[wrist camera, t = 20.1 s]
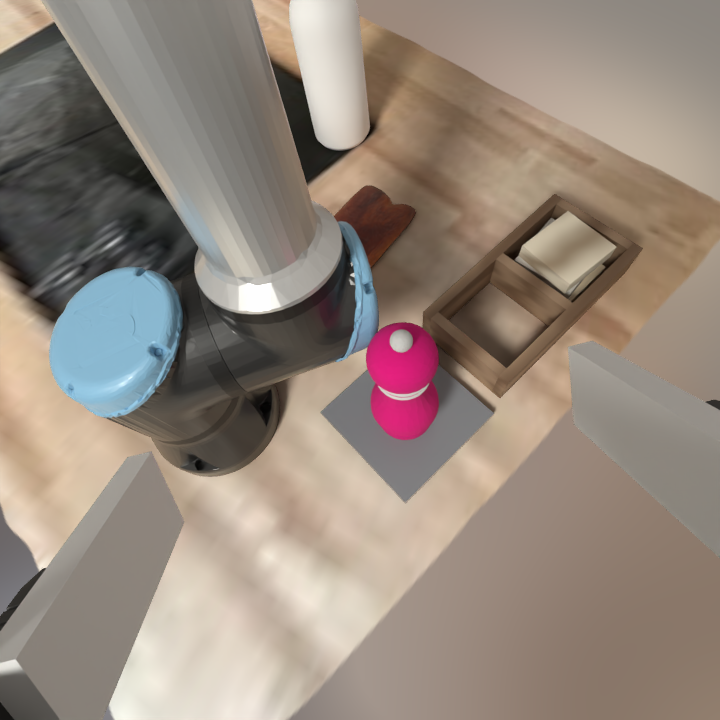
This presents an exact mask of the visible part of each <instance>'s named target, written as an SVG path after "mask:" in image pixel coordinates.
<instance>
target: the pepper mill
mask: <svg viewBox="0 0 720 720" xmlns="http://www.w3.org/2000/svg"><path fill="white" fill-rule="evenodd" d="M366 363H367V368H368V371H369V374H370V376H371V377H372V379H373V380H374V382H375V385H374V387H373V389H372V393H371V410H372V414H373V416H374V418H375V420H376V421H377V423H378V424H379V425H380V426H381V427H382V428H383V430H384V431H385V432H386V433H387V434H388V435H390V436H392V437H393V438H396V439H399V440H411V439H415V438H417V437H419V436H421V435H422V434H423V433H425V432H426V430H427V429H428V428H429V426H430V425H431V424H432V422H433V421H434V419H435V417H436V415H437V413H438V408H439V399H438V393H437V389H436V387H435V385H434V383H433V382H432V379H433V377H434V376H435V373H436V371H437V368H438V364H439V355H438V349H437V346H436V344H435V342H434V340H433V338H432V337H431V335H430V334H429V333H428V332H427V331H426V330H424V329H423V328H421V327H420V326H418V325H415V324H412V323H406V322H402V323H393V324H390V325H388V326H386V327H384V328H382V329H381V330H379V331H378V332H377V333H376V334H375V335H374V337H373V338H372V340H371V341H370V343H369V345H368V349H367V353H366Z"/></svg>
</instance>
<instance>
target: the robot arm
mask: <svg viewBox="0 0 720 720" xmlns="http://www.w3.org/2000/svg"><path fill="white" fill-rule="evenodd" d="M41 1H42V3H43V4H44V6H45V8H46V9H47V11H48V12H49V14H50V15H51V17H52V19H53V20H54V22H55V23H56V25H57V26H58V28H59V30H60V31H61V33H62V34H63V36H64V37H65V39H66V40H67V42H68V44H69V45H70V47H71V48H72V50H73V51H74V53H75V55H76V56H77V58H78V59H79V61H80V62H81V64H82V66H83V67H84V69H85V70H86V72H87V73H88V75H89V76H90V78H91V80H92V81H93V83H94V84H95V86H96V87H97V89H98V91H99V92H100V94H101V95H102V97H103V98H104V100H105V102H106V103H107V105H108V106H109V108H110V109H111V111H112V112H113V114H114V116H115V117H116V119H117V120H118V122H119V123H120V125H121V127H122V128H123V130H124V131H125V133H126V134H127V136H128V138H129V139H130V141H131V142H132V144H133V145H134V147H135V148H136V150H137V152H138V153H139V155H140V156H141V158H142V159H143V161H144V163H145V164H146V166H147V167H148V169H149V170H150V172H151V174H152V175H153V177H154V178H155V180H156V181H157V183H158V184H159V186H160V188H161V189H162V191H163V192H164V194H165V195H166V197H167V199H168V200H169V202H170V203H171V205H172V206H173V208H174V210H175V211H176V213H177V214H178V216H179V217H180V219H181V220H182V222H183V224H184V225H185V227H186V228H187V230H188V231H189V233H190V235H191V236H192V238H193V239H194V241H195V242H196V244H197V246H198V247H199V248H198V251H197V254H196V258H195V273H193V274H190V275H187V276H184V277H181V278H178V279H176V280H173V281H170V282H169V280H168V279H167V278H165V277H164V276H163V275H161V274H159V273H156V272H154V271H151V270H148V271H146V270H144V269H143V268H141V267H124V268H118V269H115V270H112V271H109V272H106V273H104V274H102V275H100V276H99V277H97V278H95V279H93V280H92V281H90V282H89V283H88V284H86V285H85V286H84V287H83V288H82V289H80V290H79V291H78V292H77V293H76V294H75V295H74V297H73V298H72V299H71V300H70V301H69V302H68V304H67V306H66V309H65V311H64V312H63V313H62V315H61V316H60V317H59V318H58V320H57V323H56V325H55V327H54V330H53V333H52V337H51V342H50V349H49V359H50V366H51V370H52V374H53V376H54V379H55V380H56V382H57V384H58V385H59V387H60V388H61V389H62V390H63V392H64V393H65V394H67V395H68V396H69V397H70V398H72V399H73V400H75V401H77V402H78V403H80V404H82V405H83V406H85V407H86V408H87V409H88V410H89V411H91V412H93V413H94V414H95V415H97V416H100V417H104V418H107V419H109V420H111V421H114V422H116V423H118V424H121V425H123V426H125V427H128V428H130V429H132V430H135V431H137V432H139V433H142V434H144V435H146V436H149V437H151V438H152V440H153V442H154V444H155V445H156V447H157V449H158V450H159V452H160V453H161V454H162V456H163V457H164V458H165V459H166V460H167V461H169V462H170V463H171V464H172V465H174V466H176V467H177V468H179V469H181V470H184V471H186V472H189V473H192V474H195V475H199V476H208V477H212V476H221V475H226V474H229V473H232V472H235V471H237V470H239V469H241V468H243V467H244V466H246V465H248V464H249V463H250V462H252V461H253V460H254V459H255V458H256V457H257V456H259V455H260V453H261V452H262V451H263V450H264V449H265V448H266V446H267V445H268V443H269V442H270V440H271V438H272V436H273V434H274V432H275V430H276V427H277V423H278V419H279V412H280V402H279V396H278V392H277V389H276V386H275V384H274V383H277V382H279V381H282V380H285V379H287V378H290V377H293V376H296V375H298V374H301V373H304V372H307V371H310V370H313V369H315V368H318V367H321V366H324V365H327V364H329V363H332V362H338V361H342V360H344V359H346V358H347V357H348V356H349V355H351V354H353V353H356V352H358V351H360V350H363V349H365V348H367V347H368V345H369V343H370V341H371V340H372V338H373V337H374V335H375V334H376V333H377V332H378V326H379V311H378V301H377V295H376V291H375V289H374V287H373V277H372V272H371V269H370V265H369V262H368V259H367V256H366V253H365V250H364V247H363V245H362V243H361V241H360V239H359V237H358V235H357V233H356V231H355V230H354V228H353V227H352V226H351V225H350V224H349V223H347V222H343V221H339V222H337V221H336V219H335V218H334V216H333V215H332V214H331V213H330V212H329V211H328V210H327V209H326V208H324V207H323V206H321V205H320V204H318V203H316V202H314V201H311V198H310V194H309V191H308V188H307V184H306V181H305V177H304V174H303V171H302V167H301V164H300V161H299V157H298V154H297V150H296V147H295V144H294V140H293V137H292V133H291V130H290V127H289V123H288V120H287V117H286V113H285V110H284V106H283V103H282V100H281V96H280V93H279V89H278V86H277V83H276V79H275V76H274V72H273V69H272V66H271V62H270V59H269V56H268V52H267V49H266V45H265V42H264V39H263V35H262V32H261V28H260V25H259V22H258V18H257V15H256V12H255V8H254V5H253V1H252V0H41ZM568 353H569V367H570V380H571V393H572V407H573V420H574V425H575V426H576V427H577V428H579V430H580V431H582V432H583V433H584V434H585V435H586V436H587V437H588V438H589V439H590V440H591V441H592V442H594V443H595V444H596V445H597V446H598V447H599V448H600V449H601V450H602V451H603V452H604V453H606V454H607V455H608V456H609V457H610V458H611V459H612V460H613V461H614V462H615V463H617V464H618V465H619V466H620V467H621V468H622V469H623V470H624V471H625V472H626V473H627V474H629V475H630V476H631V477H632V478H633V479H634V480H635V481H636V482H637V483H638V484H639V485H641V486H642V487H643V488H644V489H645V490H646V491H647V492H648V493H649V494H650V495H651V496H653V497H654V498H655V499H656V500H657V501H658V502H659V503H660V504H661V505H662V506H663V507H665V508H666V509H667V510H668V511H669V512H670V513H671V514H672V515H673V516H674V517H675V518H677V519H678V520H679V521H680V522H681V523H682V524H683V525H684V526H685V527H686V528H687V529H689V530H690V531H691V532H692V533H693V534H694V535H695V536H696V537H697V538H698V539H699V540H701V541H702V542H703V543H704V544H705V545H706V546H707V547H708V548H709V549H710V550H711V551H713V552H714V553H715V554H716V555H717V556H718V557H719V558H720V401H717V400H711V401H707V402H704V401H702V400H700V399H698V398H696V397H695V396H693V395H691V394H689V393H687V392H686V391H684V390H682V389H680V388H678V387H676V386H675V385H673V384H671V383H669V382H667V381H665V380H664V379H662V378H660V377H658V376H656V375H654V374H652V373H651V372H649V371H647V370H645V369H643V368H641V367H640V366H638V365H636V364H634V363H632V362H630V361H629V360H627V359H625V358H623V357H621V356H619V355H618V354H616V353H614V352H612V351H610V350H608V349H607V348H605V347H603V346H601V345H599V344H597V343H596V342H594V341H590V342H586V343H582V344H578V345H574V346H570V347H568ZM183 524H184V520H183V517H182V515H181V513H180V511H179V509H178V507H177V505H176V503H175V500H174V498H173V496H172V494H171V492H170V490H169V488H168V485H167V483H166V481H165V479H164V477H163V475H162V473H161V471H160V468H159V466H158V464H157V462H156V460H155V458H154V456H153V454H152V451H151V452H147V453H143V454H139V455H135V456H131V457H127V459H126V460H125V461H124V463H123V464H122V465H121V467H120V468H119V470H118V471H117V472H116V474H115V475H114V476H113V478H112V479H111V480H110V482H109V483H108V485H107V486H106V487H105V489H104V490H103V491H102V493H101V494H100V496H99V497H98V498H97V500H96V501H95V502H94V504H93V505H92V506H91V508H90V509H89V511H88V512H87V513H86V515H85V516H84V517H83V519H82V520H81V522H80V523H79V524H78V526H77V527H76V528H75V530H74V531H73V532H72V534H71V535H70V537H69V538H68V539H67V541H66V542H65V543H64V545H63V546H62V548H61V549H60V550H59V552H58V553H57V554H56V556H55V557H54V558H53V560H52V561H51V563H50V564H49V565H48V567H47V568H44V569H42V570H41V571H40V572H39V573H38V574H37V575H35V576H34V577H33V578H32V579H31V580H30V581H29V582H28V583H27V584H26V585H24V586H23V587H22V588H21V590H20V591H19V592H18V594H17V595H16V596H15V597H14V599H13V600H12V602H11V603H10V604H9V605H8V607H7V611H6V612H3V614H2V615H1V616H0V720H102V719H103V717H104V714H105V712H106V710H107V707H108V705H109V703H110V700H111V698H112V695H113V693H114V691H115V688H116V686H117V683H118V681H119V678H120V676H121V674H122V671H123V669H124V666H125V664H126V662H127V659H128V657H129V654H130V652H131V649H132V647H133V645H134V642H135V640H136V637H137V635H138V633H139V630H140V628H141V625H142V623H143V621H144V618H145V616H146V613H147V611H148V608H149V606H150V604H151V601H152V599H153V596H154V594H155V592H156V589H157V587H158V584H159V582H160V579H161V577H162V575H163V572H164V570H165V567H166V565H167V563H168V560H169V558H170V555H171V553H172V551H173V548H174V546H175V543H176V541H177V538H178V536H179V534H180V531H181V529H182V526H183Z"/></svg>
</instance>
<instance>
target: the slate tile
mask: <svg viewBox="0 0 720 720" xmlns="http://www.w3.org/2000/svg"><path fill="white" fill-rule="evenodd" d="M432 382H433V383H434V385H435V387H436V389H437V393H438V399H439V408H438V413H437V415H436V417H435V419H434V421H433V422H432V424H431V425H430V426H429V428H428V429H427V430H426V432H425V433H423V434H422V435H421V436H419V437H417V438H415V439H411V440H399V439H396V438H393V437H392V436H390V435H388V434H387V433H386V432H385V431H384V430H383V428H382V427H381V426H380V425H379V424H378V423H377V421H376V420H375V418H374V416H373V414H372V410H371V393H372V389H373V387H374V385H375V382H374V380H373V379H372V377H371V376H370V374H369V371H368V370H367V371H366V372H364V373H363V374H362V375H361V376H360V377H359V378H358V379H357V380H356V381H354V382H353V383H352V384H351V385H350V386H349V387H348V388H347V389H346V390H345V391H343V392H342V393H341V394H340V395H339V396H338V397H337V398H336V399H335V400H333V401H332V402H331V403H330V404H329V405H328V406H327V407H326V408H325V409H324V410H322V411H321V414H322V415H323V416H324V417H325V418H326V419H327V420H328V422H329V423H330V424H331V425H332V426H333V427H334V428H335V429H336V430H337V431H338V432H339V433H340V434H341V435H342V436H343V438H344V439H345V440H346V441H347V442H348V443H349V444H350V445H351V446H352V447H353V448H354V449H355V450H356V451H357V452H358V454H359V455H360V456H361V457H362V458H363V459H364V460H365V461H366V462H367V463H368V464H369V465H370V466H371V467H372V468H373V469H374V471H375V472H376V473H377V474H378V475H379V476H380V477H381V478H382V479H383V480H384V481H385V482H386V483H387V484H388V485H389V487H390V488H391V489H392V490H393V491H394V492H395V493H396V494H397V495H398V496H399V497H400V498H401V499H402V500H403V501H404V503H405V504H406V503H407V502H408V501H409V500H410V499H411V498H412V497H413V496H414V495H415V494H416V493H417V492H418V491H419V490H420V489H421V488H422V487H423V486H424V485H425V484H426V483H427V482H428V481H429V480H430V479H431V478H432V477H433V475H434V474H435V473H436V472H437V471H438V470H439V469H440V468H441V467H442V466H443V465H444V464H445V463H446V462H447V461H448V460H449V459H450V458H451V457H452V456H453V455H454V454H455V453H456V452H457V451H458V450H459V449H460V448H461V447H462V446H463V445H464V444H465V443H466V442H467V441H468V440H469V439H470V438H471V437H472V436H473V435H474V434H475V433H476V432H477V431H478V430H479V429H480V428H481V427H482V426H483V425H484V424H485V423H486V422H487V421H488V420H489V419H490V418H491V417H492V416H493V414H494V413H493V412H492V411H491V410H490V409H488V408H487V407H486V406H485V405H484V404H483V403H482V402H480V401H479V400H478V399H477V398H476V397H475V396H474V395H472V394H471V393H470V392H469V391H468V390H467V389H466V388H465V387H463V386H462V385H461V384H460V383H459V382H458V381H457V380H455V379H454V378H453V377H452V376H451V375H450V374H449V373H447V372H446V371H445V370H444V369H443V368H442V367H441V366H439V365H438V368H437V371H436V373H435V376H434V377H433V379H432Z"/></svg>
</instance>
